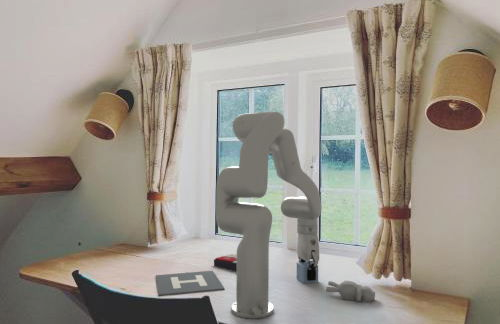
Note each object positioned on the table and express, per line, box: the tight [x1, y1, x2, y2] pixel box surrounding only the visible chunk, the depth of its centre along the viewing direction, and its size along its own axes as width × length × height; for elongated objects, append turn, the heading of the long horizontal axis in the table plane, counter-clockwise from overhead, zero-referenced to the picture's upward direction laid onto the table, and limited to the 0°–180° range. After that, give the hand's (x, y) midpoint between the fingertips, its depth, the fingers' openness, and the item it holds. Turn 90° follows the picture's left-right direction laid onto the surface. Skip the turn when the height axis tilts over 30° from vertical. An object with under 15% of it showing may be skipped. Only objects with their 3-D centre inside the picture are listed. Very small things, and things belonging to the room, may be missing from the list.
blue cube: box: [296, 262, 319, 284], centre depth 140 cm, size 6×6×6 cm
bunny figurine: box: [325, 280, 376, 304], centre depth 121 cm, size 10×5×15 cm
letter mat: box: [155, 270, 225, 297], centre depth 137 cm, size 22×22×1 cm
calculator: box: [213, 253, 237, 273], centre depth 159 cm, size 11×4×15 cm
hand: (307, 276), depth 140 cm, fingers open, 6 cm apart
